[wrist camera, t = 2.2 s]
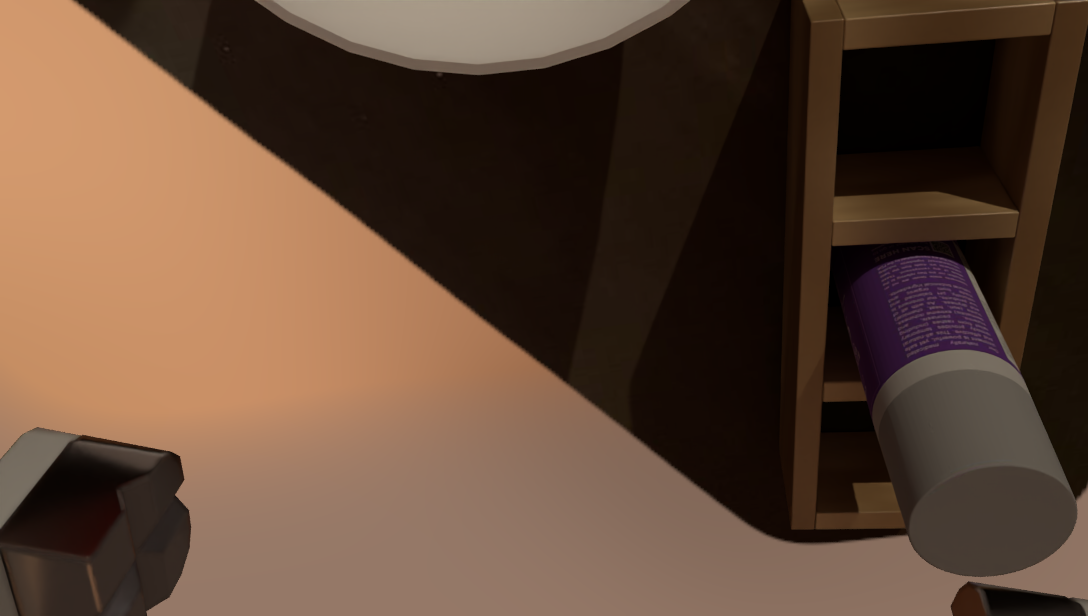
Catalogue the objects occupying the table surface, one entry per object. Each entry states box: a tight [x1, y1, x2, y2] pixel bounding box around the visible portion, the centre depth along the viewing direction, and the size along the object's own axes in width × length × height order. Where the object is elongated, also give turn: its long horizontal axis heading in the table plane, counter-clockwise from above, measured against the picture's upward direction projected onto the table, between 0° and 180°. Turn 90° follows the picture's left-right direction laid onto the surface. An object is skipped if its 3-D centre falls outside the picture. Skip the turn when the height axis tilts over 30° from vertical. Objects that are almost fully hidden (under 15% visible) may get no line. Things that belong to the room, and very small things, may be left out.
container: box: [830, 240, 1077, 577], centre depth 34 cm, size 5×5×15 cm
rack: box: [779, 0, 1088, 530], centre depth 38 cm, size 8×22×5 cm, turn 6°
